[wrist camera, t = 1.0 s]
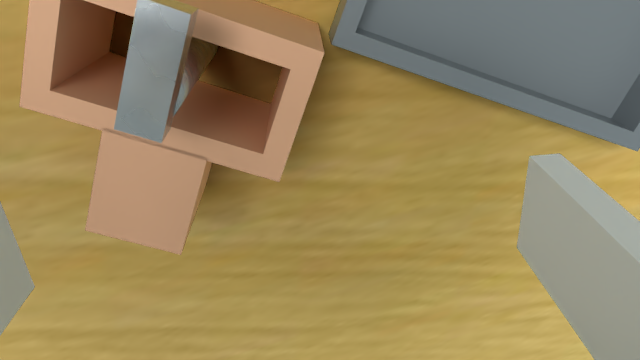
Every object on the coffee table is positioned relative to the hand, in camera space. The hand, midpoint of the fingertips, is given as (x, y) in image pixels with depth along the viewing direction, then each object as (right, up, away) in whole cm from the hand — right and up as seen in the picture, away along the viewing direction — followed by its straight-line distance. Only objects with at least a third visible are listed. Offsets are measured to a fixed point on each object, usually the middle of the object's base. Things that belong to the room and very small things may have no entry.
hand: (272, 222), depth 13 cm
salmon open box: (-7, +7, +18) cm, 21 cm away
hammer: (-5, +10, +16) cm, 20 cm away
